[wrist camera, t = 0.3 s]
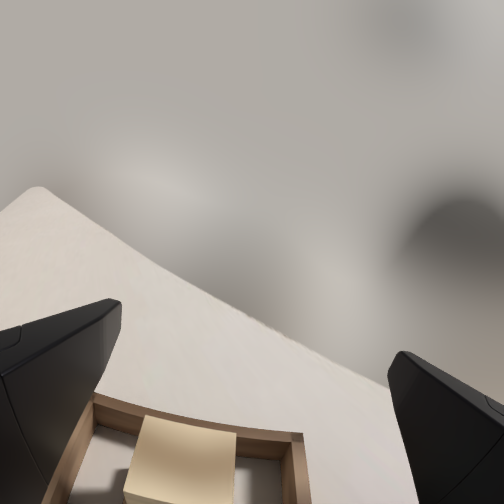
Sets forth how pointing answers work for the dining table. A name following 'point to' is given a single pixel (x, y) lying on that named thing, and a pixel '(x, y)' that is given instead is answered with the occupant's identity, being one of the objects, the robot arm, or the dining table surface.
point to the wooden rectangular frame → (132, 416)
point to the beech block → (181, 465)
